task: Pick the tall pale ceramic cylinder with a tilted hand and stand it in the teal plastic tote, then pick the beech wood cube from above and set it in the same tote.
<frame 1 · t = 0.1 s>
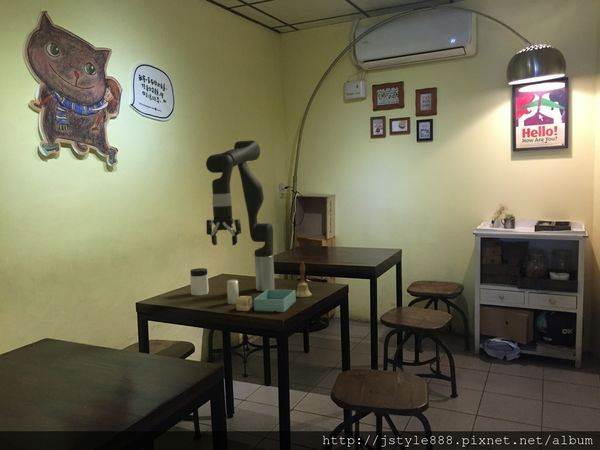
hand: (224, 244, 192), 29 cm above the table, tool pointing down, fingers open, 8 cm apart
jar: (200, 293, 235), on the table
tote: (275, 305, 207), on the table
hand bell: (303, 295, 223), on the table
cube: (244, 309, 204), on the table
cylinder: (233, 302, 215), on the table
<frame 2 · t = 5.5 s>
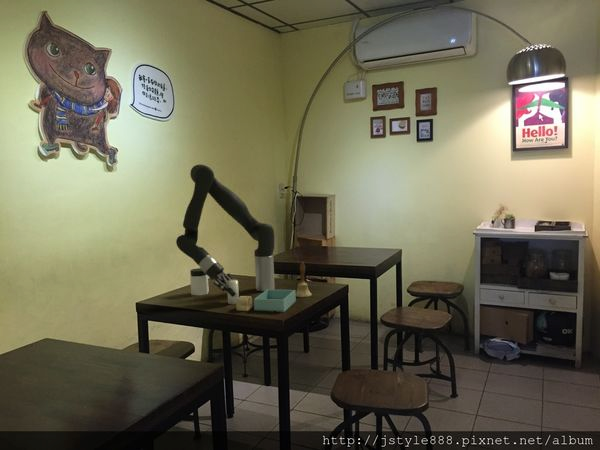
hand: (236, 293, 214), 4 cm above the table, tool tilted 45°, fingers closed on cylinder, 5 cm apart
cylinder: (233, 302, 215), on the table, touching gripper
everything else where it was.
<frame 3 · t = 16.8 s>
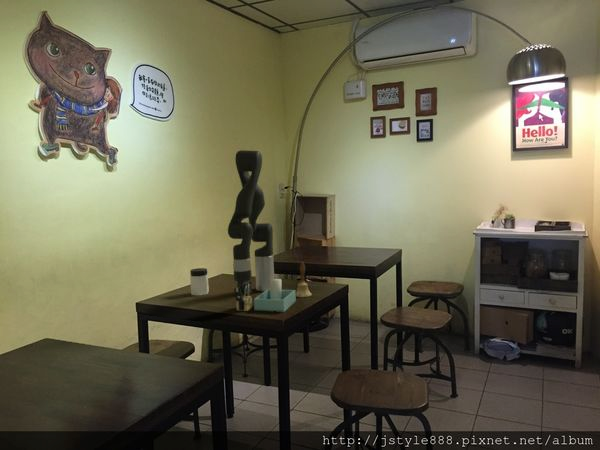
hand: (244, 307, 203), 0 cm above the table, tool pointing down, fingers closed on cube, 5 cm apart
cube: (244, 308, 204), on the table, touching gripper
cylinder: (275, 301, 210), point 1 cm above the table, touching tote
everything else where it was.
when the fingers open (4 cm above the table, at t = 22.2 s): cube drops 1 cm and tips over, resting on tote.
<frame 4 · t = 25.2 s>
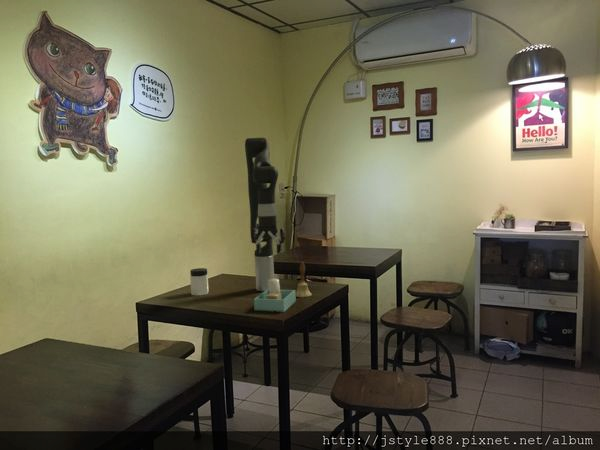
hand: (269, 253, 199), 24 cm above the table, tool pointing down, fingers open, 8 cm apart
cube: (271, 301, 201), point 3 cm above the table, tilted 90°, touching tote
at the end: cylinder inside the target area on the tote (3.8 cm from its centre), point 0.8 cm above the tote's base; cube inside the target area on the tote (5.1 cm from its centre), point 3.1 cm above the tote's base; cylinder tilted 5° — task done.
